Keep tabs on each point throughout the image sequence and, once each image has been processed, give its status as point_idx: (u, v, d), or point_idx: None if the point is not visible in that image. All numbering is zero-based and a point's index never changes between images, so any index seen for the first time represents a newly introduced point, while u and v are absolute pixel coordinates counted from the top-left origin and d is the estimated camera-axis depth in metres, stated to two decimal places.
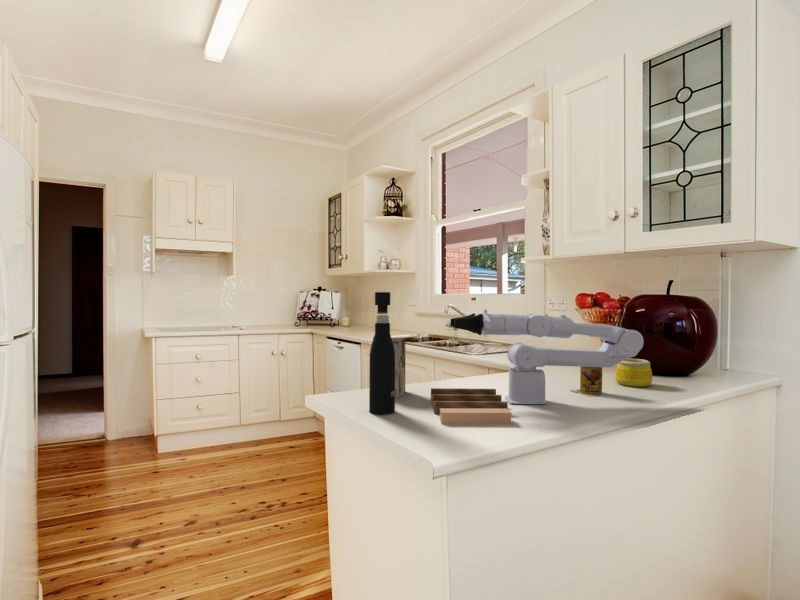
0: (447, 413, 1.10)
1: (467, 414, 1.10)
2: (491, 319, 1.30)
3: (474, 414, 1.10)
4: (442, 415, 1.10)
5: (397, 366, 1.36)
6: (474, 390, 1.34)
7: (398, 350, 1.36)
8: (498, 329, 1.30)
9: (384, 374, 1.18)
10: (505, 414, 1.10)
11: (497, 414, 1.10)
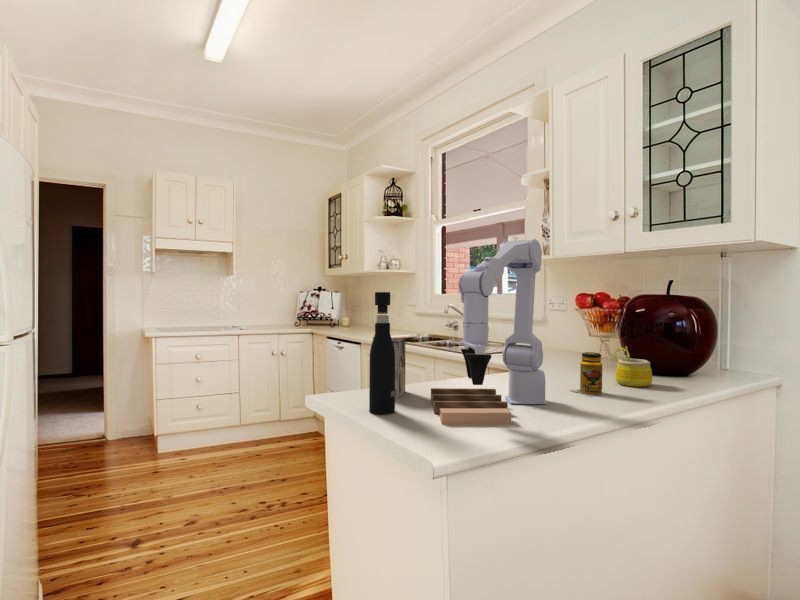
0: (447, 413, 1.10)
1: (467, 414, 1.10)
2: (471, 339, 1.10)
3: (474, 414, 1.10)
4: (442, 415, 1.10)
5: (397, 366, 1.36)
6: (474, 390, 1.34)
7: (398, 350, 1.36)
8: (482, 330, 1.09)
9: (384, 374, 1.18)
10: (505, 414, 1.11)
11: (497, 414, 1.11)
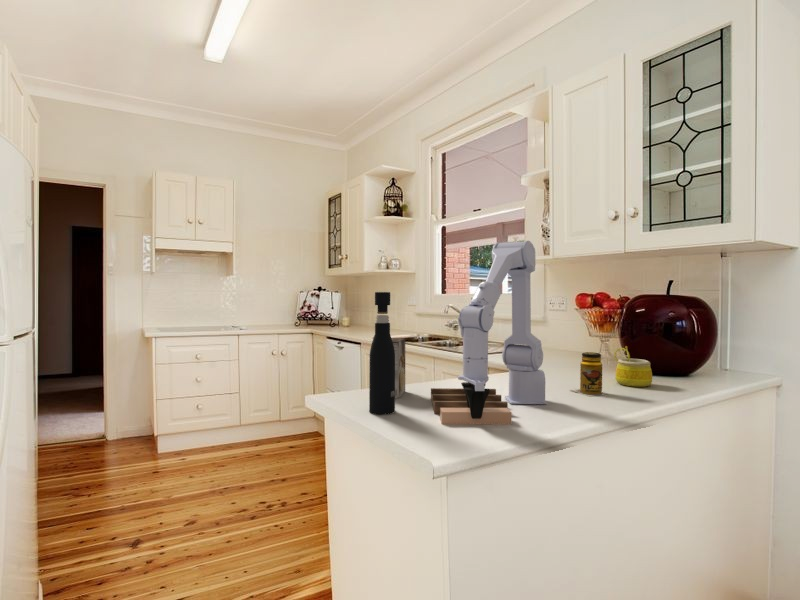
0: (447, 412, 1.10)
1: (467, 413, 1.10)
2: (470, 374, 1.10)
3: None
4: (442, 414, 1.10)
5: (397, 366, 1.36)
6: None
7: (398, 350, 1.36)
8: (482, 365, 1.10)
9: (384, 374, 1.18)
10: (505, 413, 1.11)
11: (497, 413, 1.11)
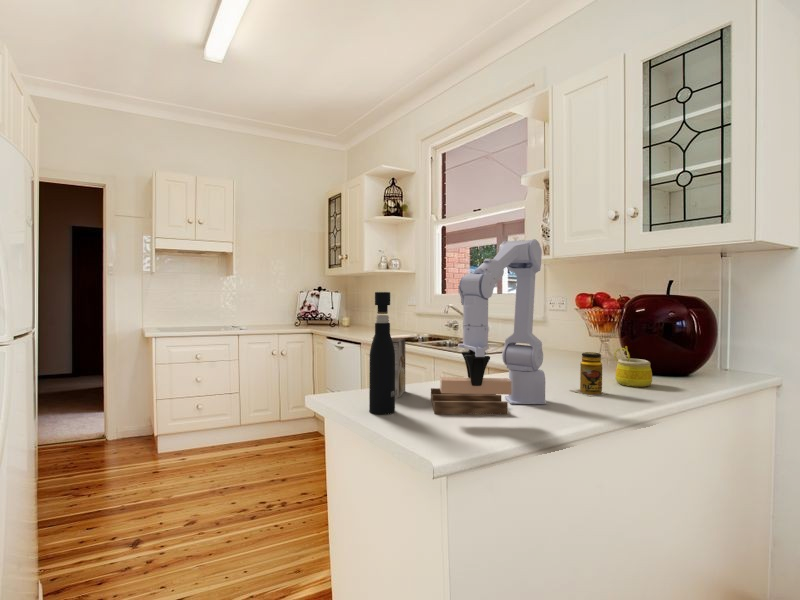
0: (447, 381, 1.11)
1: (467, 382, 1.11)
2: (471, 341, 1.10)
3: None
4: (442, 383, 1.11)
5: (397, 366, 1.36)
6: None
7: (398, 350, 1.36)
8: (482, 332, 1.10)
9: (384, 374, 1.18)
10: (505, 383, 1.10)
11: (497, 382, 1.11)
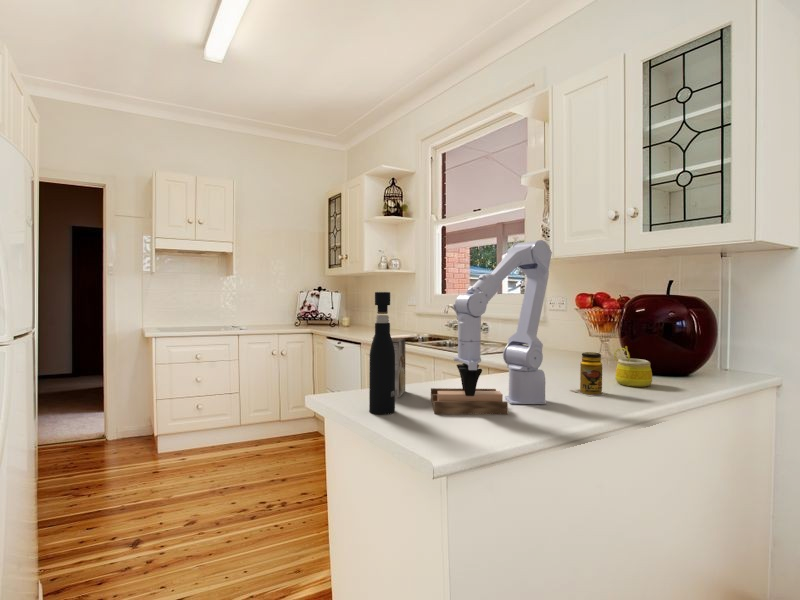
0: (444, 395, 1.21)
1: (462, 395, 1.21)
2: (465, 355, 1.20)
3: None
4: (439, 396, 1.21)
5: (397, 366, 1.36)
6: None
7: (398, 350, 1.36)
8: (475, 347, 1.20)
9: (384, 374, 1.18)
10: (497, 395, 1.21)
11: (490, 395, 1.21)
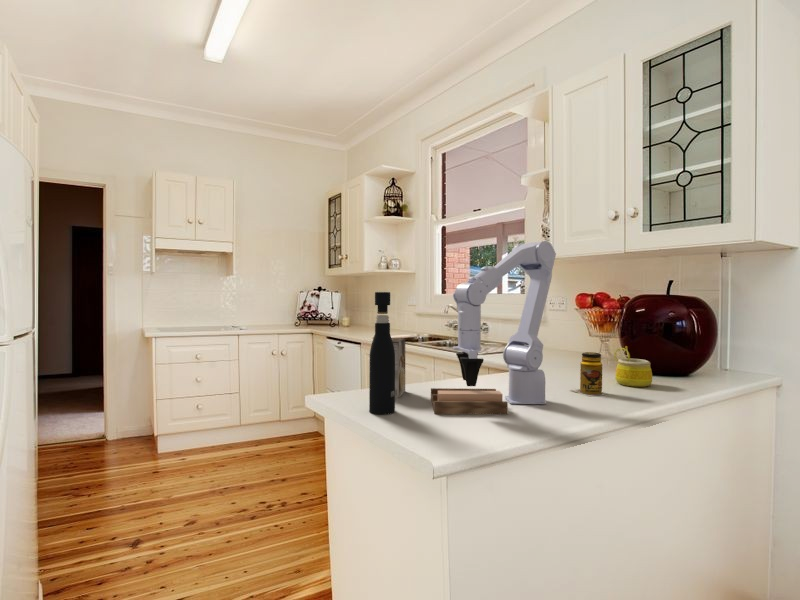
0: (444, 394, 1.21)
1: (462, 395, 1.21)
2: (465, 344, 1.20)
3: (468, 395, 1.21)
4: (439, 396, 1.21)
5: (397, 366, 1.36)
6: (474, 390, 1.34)
7: (398, 350, 1.36)
8: (475, 336, 1.20)
9: (384, 374, 1.18)
10: (497, 395, 1.21)
11: (489, 395, 1.21)
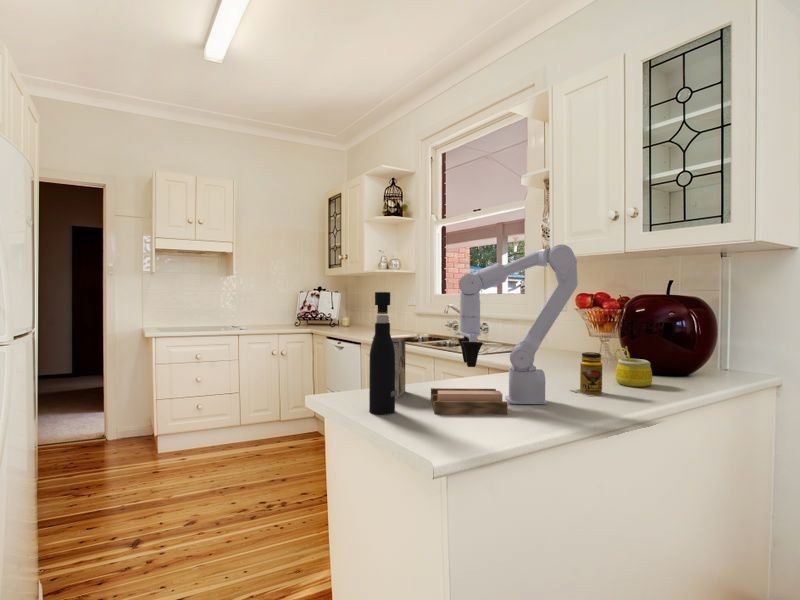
0: (444, 394, 1.21)
1: (462, 395, 1.21)
2: (466, 329, 1.34)
3: (468, 395, 1.21)
4: (439, 396, 1.21)
5: (397, 366, 1.36)
6: (474, 390, 1.34)
7: (398, 350, 1.36)
8: (475, 322, 1.34)
9: (384, 374, 1.18)
10: (497, 395, 1.21)
11: (489, 395, 1.21)
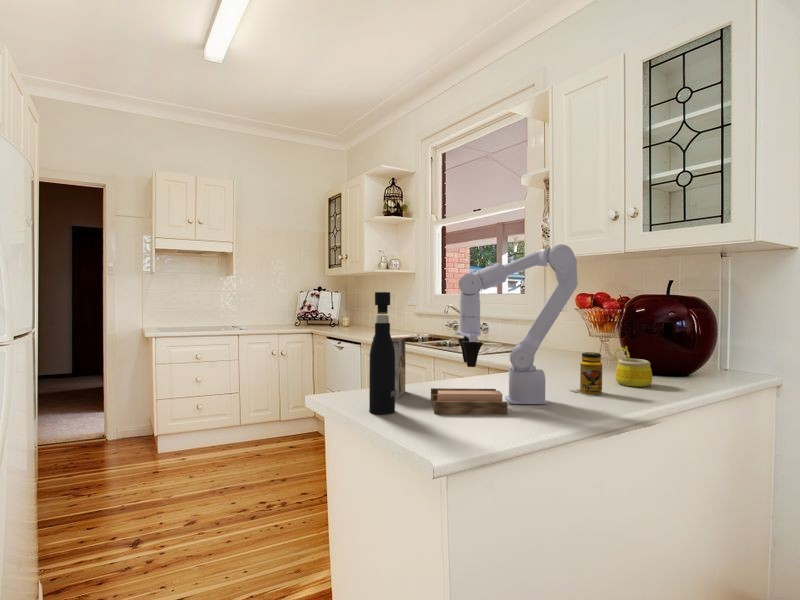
0: (444, 394, 1.21)
1: (462, 395, 1.21)
2: (466, 329, 1.34)
3: (468, 395, 1.21)
4: (439, 396, 1.21)
5: (397, 366, 1.36)
6: (474, 390, 1.34)
7: (398, 350, 1.36)
8: (475, 322, 1.34)
9: (384, 374, 1.18)
10: (497, 395, 1.21)
11: (489, 395, 1.21)
